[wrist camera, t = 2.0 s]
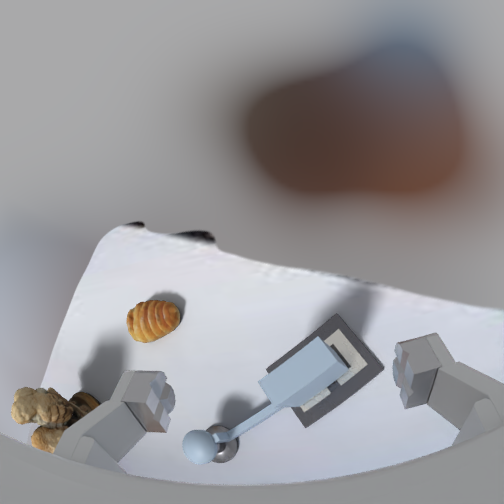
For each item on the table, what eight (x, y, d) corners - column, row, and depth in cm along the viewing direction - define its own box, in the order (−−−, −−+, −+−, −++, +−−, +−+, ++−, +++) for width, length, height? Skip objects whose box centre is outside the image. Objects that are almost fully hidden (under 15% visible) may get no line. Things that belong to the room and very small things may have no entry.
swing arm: (211, 465, 31) (171, 473, 25) (195, 437, 34) (155, 439, 28) (353, 374, 30) (342, 367, 24) (330, 345, 33) (313, 330, 27)
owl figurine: (64, 417, 47) (-7, 400, 33) (84, 376, 49) (9, 352, 36) (104, 482, 36) (20, 480, 23) (130, 442, 39) (37, 432, 25)
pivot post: (245, 443, 32) (230, 446, 29) (221, 469, 31) (205, 474, 28) (217, 418, 35) (201, 418, 32) (196, 443, 35) (179, 445, 32)
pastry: (182, 295, 47) (167, 287, 44) (184, 336, 44) (168, 330, 41) (140, 309, 50) (124, 302, 47) (139, 346, 47) (123, 341, 44)
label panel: (383, 369, 30) (383, 369, 30) (306, 427, 30) (304, 428, 30) (337, 313, 35) (336, 312, 35) (266, 369, 36) (265, 369, 36)
